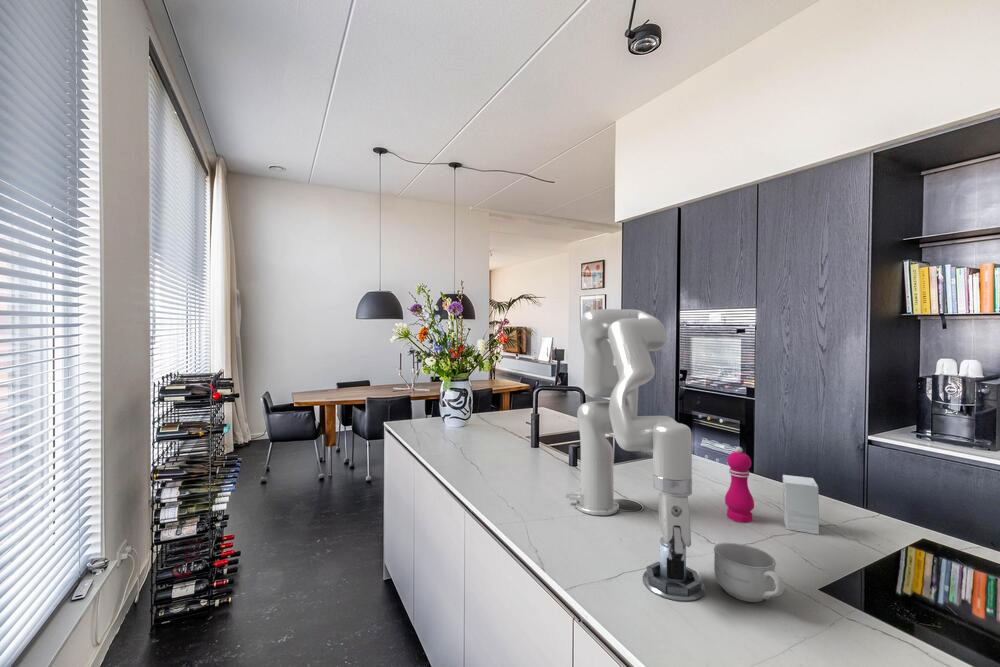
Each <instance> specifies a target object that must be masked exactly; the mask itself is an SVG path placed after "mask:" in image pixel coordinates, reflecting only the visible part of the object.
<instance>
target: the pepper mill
mask: <svg viewBox="0 0 1000 667" xmlns="http://www.w3.org/2000/svg"><path fill="white" fill-rule="evenodd" d="M726 463H727V465H728V466H729V469H728V470H729V472H728V474H729V475H730V486H729V488H728V490H727V492H726V494H725V496H724V503H725V505H726V506H727V510H726V516H727V518H728V519H729V520H731V521H734V522H737V523H744V524H745V523H751V522H752V521H753V512H752V511H753V510H754V508H755V500H754V498H753V496H752V493H751V492H750V489H749V485H748V478H749V477H750V469H751V467H752V460H751V458H750V456H749V455H748V454H746V453H744V452H743V447H741V446H736V447H735V451H733V452H731V453H729V454H728V455H727V458H726Z"/></svg>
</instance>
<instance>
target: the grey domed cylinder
mask: <svg viewBox="0 0 1000 667" xmlns="http://www.w3.org/2000/svg"><path fill="white" fill-rule="evenodd" d="M659 540H660V541H659V562H660V575H661V576H662V577H663V578H664V579H666V580H668V581H671V582H683V581H685V580H686V567H687V546H685V544H684V541H683V556H684V580H676V579H668V578H667V558H668V545H667V544H666V543H665V541H664V538H663V536H662V537H660V538H659ZM670 543H674V540H670ZM674 548H675V547H671V551H672V550H674Z"/></svg>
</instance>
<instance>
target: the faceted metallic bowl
mask: <svg viewBox="0 0 1000 667" xmlns="http://www.w3.org/2000/svg"><path fill="white" fill-rule="evenodd" d="M642 582H643V584H644V586H645V587H646V589H647V590H648V591H650V592H651V593H653V594H655V595H656V596H659V597H661V598H664V599H667V600H670V601H676V602H693V601H697V600H699V599H701V598H703V596H705V593H706V587H705V584H704V582H702V580H701V579H700V576H699V574H698V572H697V571H696V570H694V569H693V568H690V567H688V566H686V580H685V581H683V582H671V581H668V580H666V579H664V578H663V577H662V576H661V575H660V560H659V561H656V562H654V563H652V564H649V565H647V566H646V570H645V571H644V572H643V574H642Z"/></svg>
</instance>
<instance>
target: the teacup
mask: <svg viewBox="0 0 1000 667" xmlns="http://www.w3.org/2000/svg"><path fill="white" fill-rule="evenodd" d="M713 550H714V551H713V552H714V562H713V563H714V564H713V565H714V576H715V579H716V581H717V583H718V585H719V586H720V587H722V589H724V591H725V592H726V593H727V594H728V595H730V596H731V597H734V598H735V599H738V600H741V601H743V602H748V603H758V602H761V601H763V600H769V599H770V598H774V597H778V596H781V595H782V594H783V593H784V591H785V584H784V583H785V582H784V581H783V579H782V577H781V576H780V575H779V574H778V573H777V572H776V566H777V562H776V560H775V558H774V557H773V556H772V555H770V554H769V553H767V552H766V551H764V550H762V549H760V548H757V547H753V546H750V545H747V544H742V543H737V542H722V543H718V544H716V545H714V548H713ZM774 588H775V589H774Z"/></svg>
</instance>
